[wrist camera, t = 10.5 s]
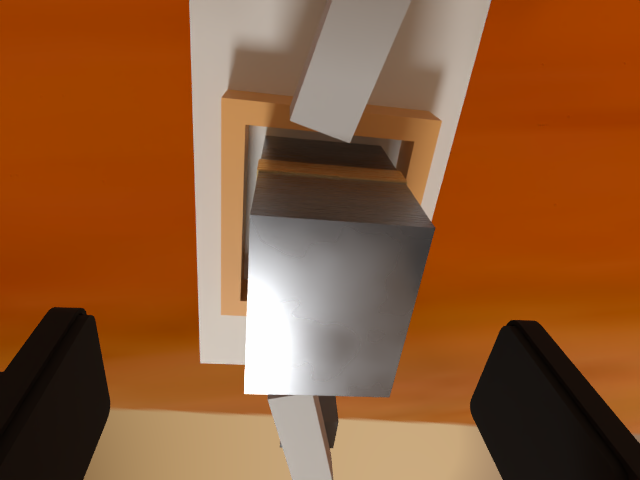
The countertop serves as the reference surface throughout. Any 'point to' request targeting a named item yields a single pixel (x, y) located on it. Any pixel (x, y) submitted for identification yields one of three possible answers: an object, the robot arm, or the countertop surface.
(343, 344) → the block
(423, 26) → the stand
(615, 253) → the countertop surface
